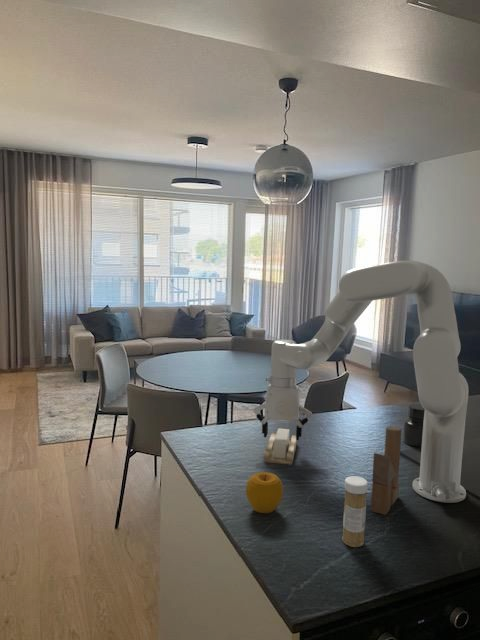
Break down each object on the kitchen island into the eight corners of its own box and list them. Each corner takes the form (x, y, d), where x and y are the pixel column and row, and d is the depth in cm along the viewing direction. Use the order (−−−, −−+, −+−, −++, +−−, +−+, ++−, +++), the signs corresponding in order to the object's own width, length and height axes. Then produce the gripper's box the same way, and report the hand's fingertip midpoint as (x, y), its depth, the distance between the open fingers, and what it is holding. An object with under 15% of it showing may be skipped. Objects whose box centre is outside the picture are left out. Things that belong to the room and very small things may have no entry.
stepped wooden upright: (370, 511, 113) (374, 437, 110) (384, 493, 122) (388, 424, 119) (386, 516, 111) (390, 440, 108) (399, 497, 120) (403, 427, 117)
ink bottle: (429, 438, 160) (431, 403, 159) (437, 448, 151) (439, 411, 150) (398, 437, 161) (401, 402, 160) (405, 447, 152) (407, 410, 151)
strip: (285, 458, 140) (285, 443, 139) (273, 457, 140) (273, 442, 140) (288, 443, 151) (289, 429, 151) (277, 442, 152) (278, 428, 151)
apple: (251, 523, 107) (252, 484, 106) (240, 504, 115) (241, 468, 114) (287, 517, 109) (288, 480, 108) (274, 499, 117) (275, 465, 116)
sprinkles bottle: (349, 533, 103) (352, 473, 102) (368, 541, 100) (372, 480, 99) (337, 542, 100) (340, 480, 98) (357, 551, 97) (360, 487, 95)
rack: (291, 464, 137) (292, 455, 137) (263, 461, 139) (264, 452, 139) (296, 444, 153) (296, 435, 153) (271, 441, 154) (271, 433, 154)
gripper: (252, 382, 141) (251, 439, 143) (312, 386, 138) (309, 444, 140) (256, 376, 149) (255, 430, 151) (313, 380, 145) (311, 435, 147)
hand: (281, 437), depth 145 cm, fingers open, 9 cm apart
